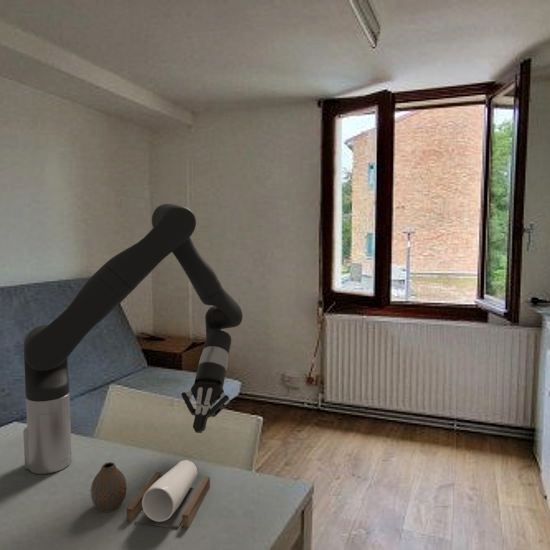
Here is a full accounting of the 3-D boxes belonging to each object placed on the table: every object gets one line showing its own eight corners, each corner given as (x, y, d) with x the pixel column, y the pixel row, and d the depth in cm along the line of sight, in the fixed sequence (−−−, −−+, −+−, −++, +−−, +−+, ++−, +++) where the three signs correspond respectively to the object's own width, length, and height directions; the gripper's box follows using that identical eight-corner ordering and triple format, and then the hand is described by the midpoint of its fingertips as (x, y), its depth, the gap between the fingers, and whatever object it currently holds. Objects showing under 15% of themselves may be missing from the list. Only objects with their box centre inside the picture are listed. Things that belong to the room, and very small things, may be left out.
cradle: (125, 522, 90) (125, 510, 89) (156, 482, 104) (156, 471, 104) (187, 529, 88) (187, 517, 87) (209, 487, 102) (209, 476, 102)
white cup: (204, 460, 102) (177, 492, 88) (198, 489, 103) (171, 526, 88) (175, 452, 104) (144, 483, 89) (170, 481, 104) (138, 516, 89)
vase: (99, 495, 98) (98, 456, 97) (131, 496, 98) (131, 457, 97) (85, 515, 91) (84, 473, 91) (120, 517, 91) (119, 474, 90)
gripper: (185, 359, 122) (167, 423, 111) (234, 362, 120) (221, 428, 109) (191, 372, 127) (176, 435, 117) (239, 375, 125) (227, 439, 115)
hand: (198, 431), depth 113 cm, fingers closed
